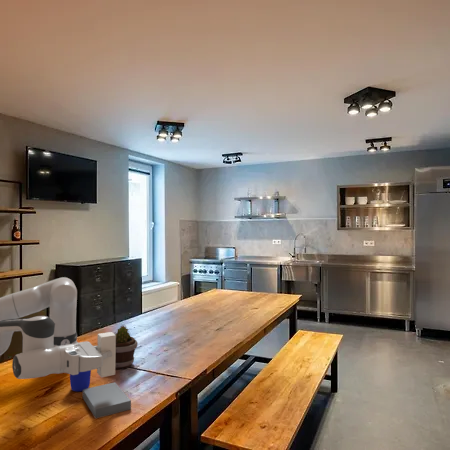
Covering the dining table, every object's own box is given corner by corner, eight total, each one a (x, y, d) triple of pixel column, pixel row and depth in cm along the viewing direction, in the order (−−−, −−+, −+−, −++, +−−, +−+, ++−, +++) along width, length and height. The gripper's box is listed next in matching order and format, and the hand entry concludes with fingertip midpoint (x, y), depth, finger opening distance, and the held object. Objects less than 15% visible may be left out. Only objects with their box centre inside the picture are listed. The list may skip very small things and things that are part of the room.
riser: (82, 397, 139) (82, 389, 139) (114, 390, 145) (115, 382, 145) (95, 418, 124) (95, 409, 124) (130, 409, 130) (130, 400, 130)
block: (97, 372, 135) (97, 333, 135) (111, 370, 138) (111, 331, 138) (101, 377, 131) (101, 337, 131) (115, 374, 134) (115, 335, 134)
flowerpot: (102, 362, 175) (102, 319, 175) (135, 358, 180) (136, 316, 180) (103, 373, 161) (104, 327, 161) (139, 369, 167) (140, 324, 167)
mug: (97, 380, 154) (97, 355, 154) (87, 393, 142) (87, 366, 142) (76, 380, 154) (77, 356, 154) (65, 393, 142) (65, 367, 142)
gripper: (62, 358, 136) (100, 351, 144) (74, 377, 119) (117, 368, 126) (62, 340, 136) (101, 334, 144) (74, 357, 119) (117, 349, 127)
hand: (108, 350), depth 135 cm, fingers closed on block, 5 cm apart
